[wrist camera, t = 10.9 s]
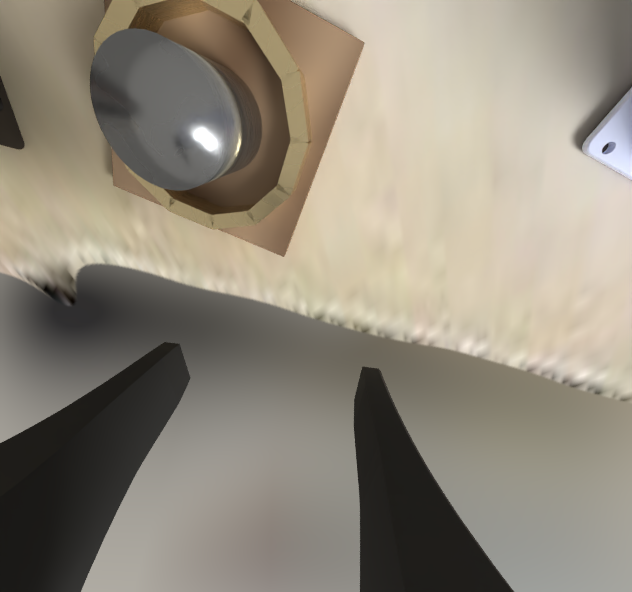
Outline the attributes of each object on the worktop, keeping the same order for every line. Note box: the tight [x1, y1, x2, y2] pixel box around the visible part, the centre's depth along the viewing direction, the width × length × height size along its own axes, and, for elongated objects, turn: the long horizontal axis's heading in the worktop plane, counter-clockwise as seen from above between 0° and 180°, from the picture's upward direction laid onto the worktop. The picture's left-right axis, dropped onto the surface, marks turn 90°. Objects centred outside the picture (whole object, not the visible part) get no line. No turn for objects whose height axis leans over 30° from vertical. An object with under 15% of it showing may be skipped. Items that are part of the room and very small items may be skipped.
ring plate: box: [93, 0, 364, 257], centre depth 13 cm, size 11×11×2 cm
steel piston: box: [90, 28, 262, 191], centre depth 11 cm, size 5×5×5 cm
